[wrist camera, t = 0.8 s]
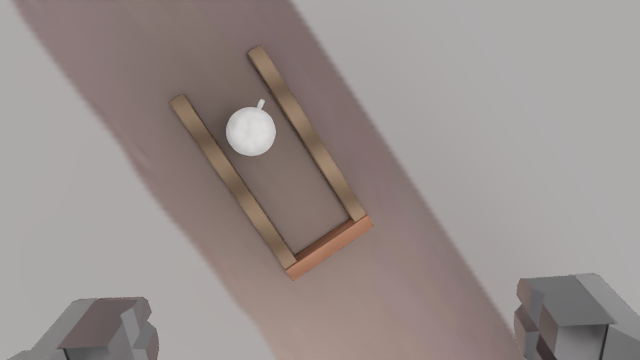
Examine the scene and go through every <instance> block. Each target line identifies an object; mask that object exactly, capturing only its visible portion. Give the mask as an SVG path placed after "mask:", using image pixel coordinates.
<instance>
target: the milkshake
mask: <svg viewBox="0 0 640 360" xmlns="http://www.w3.org/2000/svg"><path fill="white" fill-rule="evenodd" d="M264 103H265V100H263V99H260V101H259V103H258V105H257V107H256V108H255V107H245V108H242V109H240V110H238V111H236V112H235V113H234V114H233V115H232V116H231V117H230V119H229V121H228V123H227V127H226V137H227V140H228V142H229V144H230V145H231V146H232V148H233V149H234V150H235V151H237V152H238V153H240V154H243V155H246V156H256V155H260V154H262V153H264V152H266V151H267V150H268V149H269V148H270V147H271V146H272V144H273V142H274V139H275V135H276V129H275V125H274V122H273V120H272V118H271V117H270V116H269V114H267V113H266V112H265V111H263V110H261V109H262V107H263V105H264Z"/></svg>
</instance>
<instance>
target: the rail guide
mask: <svg viewBox="0 0 640 360" xmlns="http://www.w3.org/2000/svg"><path fill="white" fill-rule="evenodd" d="M248 56H249V58H250V60H251V61H252V63H253V64H254V66H255V67H256V69H257V71H258V72H259V74H260V75H261V77H262V79H263V80H264V82H265V83H266V85H267V86H268V88H269V90H270V91H271V93H272V94H273V96H274V98H275V99H276V101H277V102H278V104H279V105H280V107H281V109H282V110H283V112H284V113H285V115H286V117H287V118H288V120H289V121H290V123H291V124H292V126H293V128H294V129H295V131H296V132H297V134H298V136H299V137H300V139H301V140H302V142H303V143H304V145H305V147H306V148H307V150H308V151H309V153H310V154H311V156H312V158H313V159H314V161H315V162H316V164H317V166H318V167H319V169H320V170H321V172H322V173H323V175H324V177H325V178H326V180H327V181H328V183H329V185H330V186H331V188H332V189H333V191H334V192H335V194H336V196H337V197H338V199H339V200H340V202H341V204H342V205H343V207H344V208H345V210H346V211H347V213H348V215H349V216H350V219H349V220H347V221H346V222H344V223H343V224H341V225H340V226H338V227H337V228H335V229H334V230H332V231H331V232H329V233H328V234H326V235H325V236H323V237H322V238H320V239H319V240H317V241H316V242H315V243H313V244H312V245H310V246H309V247H307V248H306V249H304V250H303V251H301V252H300V253H298V254H297V255H295V256H294V254H293V253H292V251H291V250H290V248H289V247H288V246H287V244H286V243H285V241H284V240H283V238H282V237H281V235H280V234H279V232H278V231H277V229H276V228H275V227H274V225H273V224H272V222H271V221H270V219H269V218H268V216H267V215H266V213H265V212H264V210H263V209H262V207H261V206H260V205H259V203H258V202H257V200H256V199H255V197H254V196H253V194H252V193H251V191H250V190H249V188H248V187H247V186H246V184H245V183H244V181H243V180H242V178H241V177H240V175H239V174H238V172H237V171H236V169H235V168H234V167H233V165H232V164H231V162H230V161H229V159H228V158H227V156H226V155H225V153H224V152H223V150H222V149H221V148H220V146H219V145H218V143H217V142H216V140H215V139H214V137H213V136H212V134H211V133H210V131H209V130H208V128H207V127H206V126H205V124H204V123H203V121H202V120H201V118H200V117H199V115H198V114H197V112H196V111H195V109H194V108H193V107H192V105H191V104H190V102H189V101H188V99H187V98H186V96H185V95H184V94H181V95H179V96H177V97H176V98H174V99H173V100H171V101H169V103H170V105H171V106H172V107H173V109H174V110H175V112H176V113H177V115H178V116H179V118H180V119H181V120H182V122H183V123H184V125H185V126H186V128H187V129H188V130H189V132H190V133H191V135H192V136H193V138H194V139H195V141H196V142H197V143H198V145H199V146H200V148H201V149H202V151H203V152H204V153H205V155H206V156H207V158H208V159H209V161H210V162H211V164H212V165H213V166H214V168H215V169H216V171H217V172H218V174H219V175H220V176H221V178H222V179H223V181H224V182H225V184H226V185H227V187H228V188H229V189H230V191H231V192H232V194H233V195H234V197H235V198H236V199H237V201H238V202H239V204H240V205H241V207H242V208H243V210H244V211H245V212H246V214H247V215H248V217H249V218H250V220H251V221H252V222H253V224H254V225H255V227H256V228H257V230H258V231H259V233H260V234H261V235H262V237H263V238H264V240H265V241H266V243H267V244H268V245H269V247H270V248H271V250H272V251H273V253H274V254H275V256H276V257H277V258H278V260H279V261H280V263H281V264H282V266H283V267H284V268H285V270H286V272H287V274H288V275H289V276H290V278H291V279H292V281H294V280H295V279H297V278H298V277H300V276H301V275H303V274H304V273H306V272H307V271H309V270H310V269H312V268H313V267H315V266H316V265H318V264H319V263H320V262H322V261H323V260H325V259H326V258H328V257H329V256H331V255H332V254H334V253H335V252H337V251H338V250H340V249H341V248H343V247H344V246H345V245H347V244H348V243H350V242H351V241H353V240H354V239H356V238H357V237H359V236H360V235H362V234H363V233H365V232H366V231H368V230H369V229H370V228H372V227H373V226H374V224H373V223H372V221H371V220H370V218H369V216H368V215H367V214H366V213H365V211H364V209H363V208H362V206H361V205H360V203H359V201H358V200H357V198H356V196H355V195H354V193H353V192H352V190H351V188H350V187H349V185H348V184H347V182H346V180H345V179H344V177H343V175H342V174H341V172H340V171H339V169H338V167H337V166H336V164H335V163H334V161H333V159H332V158H331V156H330V155H329V153H328V151H327V150H326V148H325V146H324V145H323V143H322V142H321V140H320V138H319V137H318V135H317V134H316V132H315V130H314V129H313V127H312V126H311V124H310V122H309V121H308V119H307V117H306V116H305V114H304V113H303V111H302V109H301V108H300V106H299V105H298V103H297V101H296V100H295V98H294V96H293V95H292V93H291V92H290V90H289V88H288V87H287V85H286V84H285V82H284V80H283V79H282V77H281V76H280V74H279V72H278V71H277V69H276V67H275V66H274V64H273V63H272V61H271V59H270V58H269V56H268V55H267V53H266V51H265V50H264V48H263V46H262V45H259V46H257V47H256V48H254V49H253V50H251V51H249V52H248Z"/></svg>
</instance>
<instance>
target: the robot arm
mask: <svg viewBox="0 0 640 360" xmlns="http://www.w3.org/2000/svg"><path fill="white" fill-rule="evenodd" d="M517 296H518V298H519V300H520V301H521V303H522V304H521V306H520V307H519V308H518V309H517V310H516V311H515V315H514V330H515V337H516V341H517V344H518V347H519V349H520V351H521V353H522V355H523V357H524V358H526V359H527V360H640V316H639V315H638V314H637V313H636V312H635V311H634V310H633V309H632V308H631V307H630V306H629V305H628V304H627V303H626V302H625V301H624V300H623V299H622V298H621V297H620V296H619V295H618V294H617V293H616V292H615V291H614V290H613V289H612V288H611V287H610V286H609V284H608V283H606V282H605V280H604V279H603V278H602V277H601V276H600V275H597V274H595V273H586V274H575V275H574V274H573V275H569V276H554V277H536V278H521V279H520V280H519V283H518V286H517ZM151 313H152V312H151V309H150V306H149V303H148V300H147V299H145V298H144V297H127V298H126V297H124V298H100V299H98V298H95V299H94V298H93V299H79V300H76V301H73V302H72V303H71V304H70V305H69V306H68V308H67V309H66V310H65V311H64V312H63V313H62V315H61V316H60V317H59V318H58V319H57V320H56V322H55V323H54V324H53V325H52V326H51V327H50V329H49V330H48V331H47V332H46V333H45V334H44V335H43V337H42V338H41V339H40V340H39V341H38V342H37V343H36V345H35V346H34V347H33V348H32V349H31V350H30V351H22V352H20V353H19V354H17V355H15V356H13V357H11V358H10V359H8V360H157V356H158V351H159V341H158V334H157V330H156V328H155V327H154V326H153V325H151V324H150V323H149V322H148V321H147V320H148V318H149V316H150V314H151Z"/></svg>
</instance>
